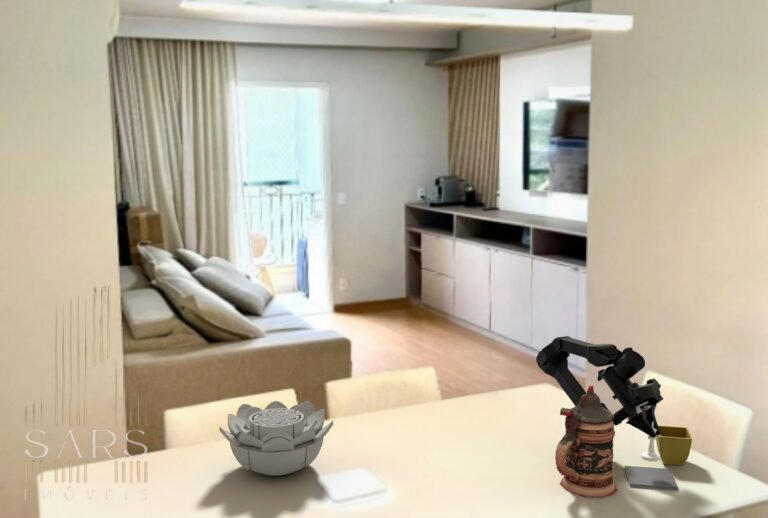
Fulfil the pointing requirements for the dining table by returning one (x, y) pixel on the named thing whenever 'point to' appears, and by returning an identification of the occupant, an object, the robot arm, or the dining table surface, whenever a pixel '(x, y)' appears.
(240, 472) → the dining table surface
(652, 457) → the chess piece
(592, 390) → the beer stein
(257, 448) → the decorative bowl
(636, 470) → the slate tile
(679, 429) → the flower pot
